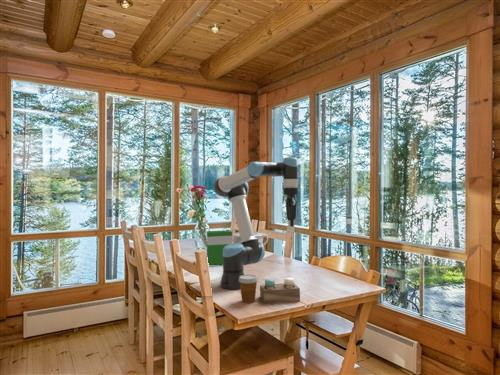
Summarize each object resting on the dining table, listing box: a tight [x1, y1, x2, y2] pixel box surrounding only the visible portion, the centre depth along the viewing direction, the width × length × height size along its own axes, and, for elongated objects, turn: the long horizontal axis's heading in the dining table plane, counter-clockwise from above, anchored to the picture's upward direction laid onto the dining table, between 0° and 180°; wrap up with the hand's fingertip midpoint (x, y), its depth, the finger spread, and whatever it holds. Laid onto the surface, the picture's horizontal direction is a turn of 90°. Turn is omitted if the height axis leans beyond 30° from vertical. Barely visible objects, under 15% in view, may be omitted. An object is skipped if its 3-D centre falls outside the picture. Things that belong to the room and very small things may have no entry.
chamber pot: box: [232, 230, 269, 247], centre depth 283 cm, size 28×28×21 cm
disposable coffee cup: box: [239, 274, 259, 304], centre depth 169 cm, size 10×10×12 cm
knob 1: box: [264, 278, 276, 289], centre depth 171 cm, size 5×5×9 cm
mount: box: [259, 282, 301, 304], centre depth 172 cm, size 10×18×6 cm, turn 100°
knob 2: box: [283, 277, 295, 288], centre depth 173 cm, size 5×5×9 cm
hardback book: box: [206, 229, 233, 266], centre depth 249 cm, size 18×7×24 cm, turn 104°
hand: (291, 232), depth 178 cm, fingers closed
